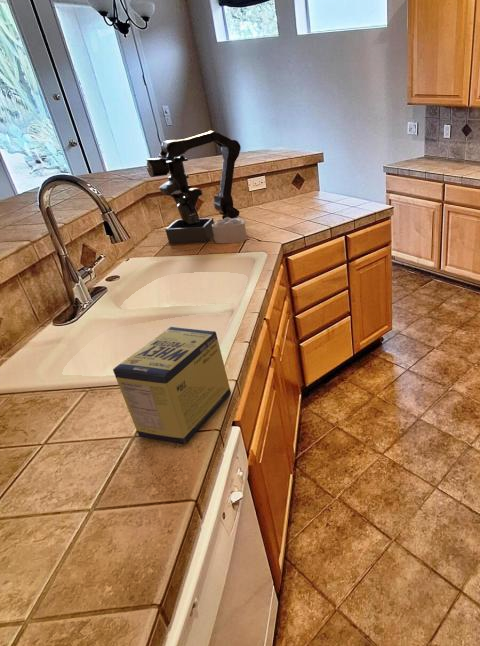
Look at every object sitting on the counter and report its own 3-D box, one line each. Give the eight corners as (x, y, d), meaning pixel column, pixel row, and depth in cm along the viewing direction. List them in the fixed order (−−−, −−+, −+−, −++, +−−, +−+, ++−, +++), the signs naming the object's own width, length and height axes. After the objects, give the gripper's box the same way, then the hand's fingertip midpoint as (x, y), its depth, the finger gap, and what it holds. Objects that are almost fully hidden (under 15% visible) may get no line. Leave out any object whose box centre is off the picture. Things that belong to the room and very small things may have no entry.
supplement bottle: (196, 225, 182) (185, 197, 176) (181, 227, 183) (170, 200, 177) (203, 220, 188) (193, 193, 182) (189, 223, 189) (178, 195, 183)
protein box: (232, 392, 92) (217, 330, 85) (186, 445, 78) (163, 376, 71) (189, 386, 94) (170, 325, 87) (137, 437, 80) (109, 369, 73)
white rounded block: (248, 240, 183) (244, 220, 179) (216, 245, 179) (211, 224, 175) (245, 233, 192) (241, 214, 188) (214, 238, 187) (209, 218, 183)
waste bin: (216, 232, 195) (213, 217, 192) (207, 242, 182) (204, 227, 179) (180, 233, 193) (176, 219, 190) (169, 244, 181) (165, 229, 178)
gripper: (145, 174, 174) (156, 212, 181) (172, 179, 165) (182, 218, 172) (171, 170, 182) (180, 207, 189) (198, 174, 173) (207, 212, 180)
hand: (187, 211), depth 182 cm, fingers closed on supplement bottle, 7 cm apart
